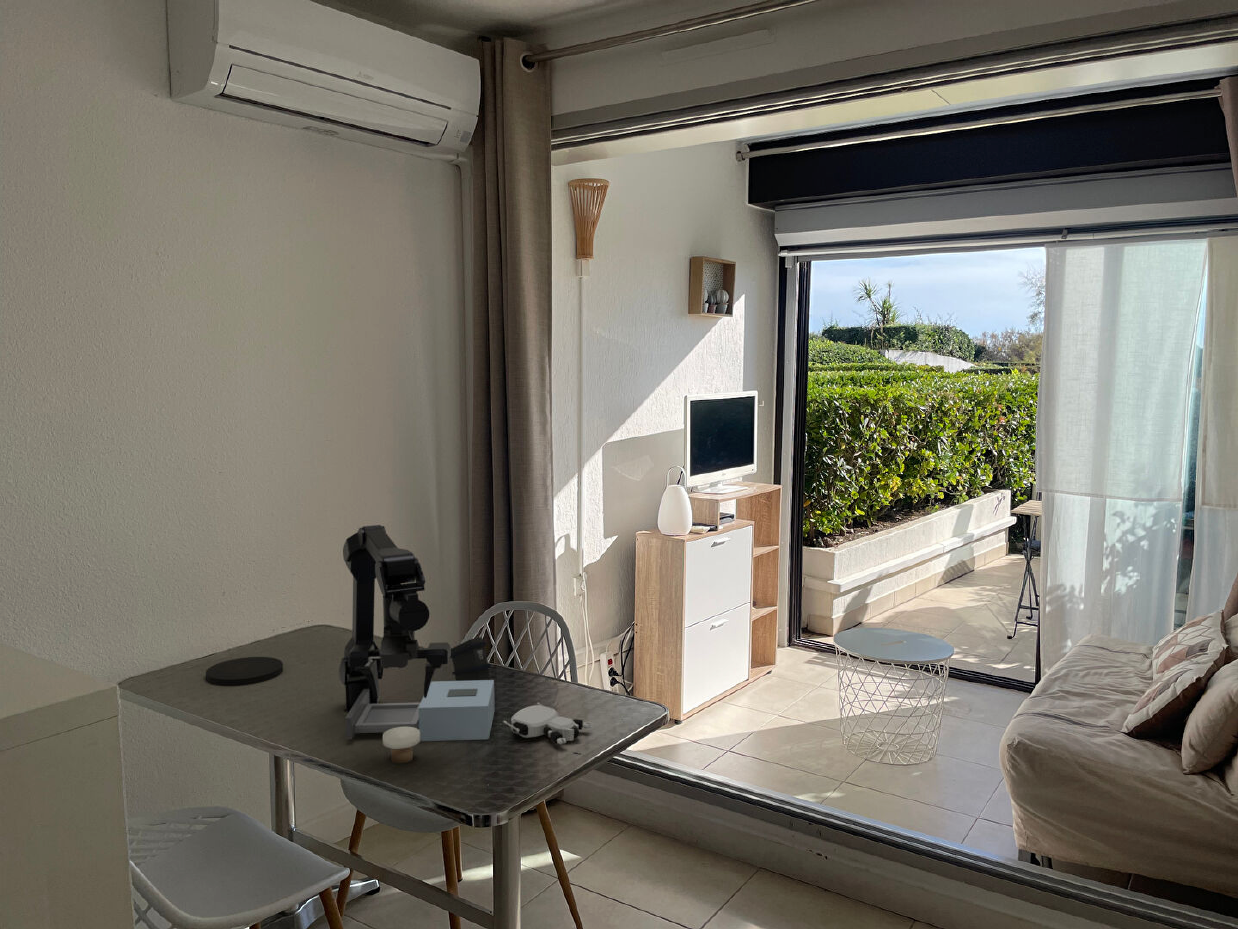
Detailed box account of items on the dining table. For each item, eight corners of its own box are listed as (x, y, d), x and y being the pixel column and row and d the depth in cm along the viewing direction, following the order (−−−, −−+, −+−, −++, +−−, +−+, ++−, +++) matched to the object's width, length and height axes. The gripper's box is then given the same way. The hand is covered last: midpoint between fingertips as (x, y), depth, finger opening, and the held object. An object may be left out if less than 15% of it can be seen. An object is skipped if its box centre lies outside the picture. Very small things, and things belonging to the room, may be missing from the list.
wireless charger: (298, 671, 234) (297, 664, 234) (235, 692, 219) (235, 684, 219) (253, 660, 243) (253, 652, 243) (190, 679, 228) (190, 671, 228)
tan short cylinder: (389, 763, 178) (389, 746, 177) (393, 755, 182) (392, 737, 181) (410, 763, 178) (410, 745, 177) (414, 754, 182) (413, 737, 181)
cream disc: (379, 749, 176) (379, 741, 175) (386, 735, 183) (386, 727, 182) (417, 748, 176) (416, 740, 176) (422, 734, 183) (422, 726, 183)
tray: (345, 738, 187) (345, 718, 186) (364, 708, 204) (363, 689, 203) (415, 736, 187) (415, 716, 187) (428, 706, 205) (427, 687, 204)
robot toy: (593, 737, 193) (534, 719, 200) (595, 716, 192) (535, 698, 199) (561, 758, 182) (499, 738, 189) (562, 736, 181) (500, 717, 189)
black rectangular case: (486, 705, 203) (469, 639, 207) (459, 715, 213) (443, 652, 217) (501, 701, 206) (484, 636, 209) (473, 711, 216) (457, 648, 219)
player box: (419, 741, 188) (418, 707, 188) (430, 712, 204) (429, 680, 203) (488, 739, 189) (488, 705, 188) (494, 710, 205) (493, 679, 204)
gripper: (339, 631, 169) (342, 714, 170) (443, 628, 170) (445, 711, 171) (352, 615, 180) (355, 694, 181) (450, 613, 181) (452, 691, 182)
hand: (401, 698), depth 179 cm, fingers open, 9 cm apart
